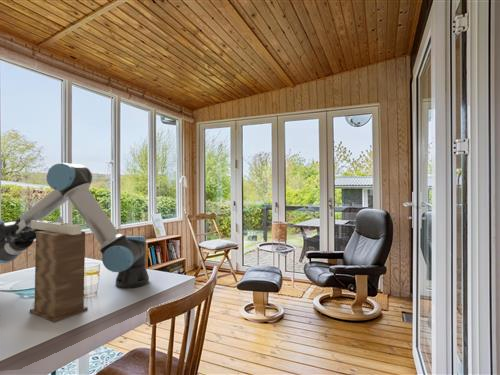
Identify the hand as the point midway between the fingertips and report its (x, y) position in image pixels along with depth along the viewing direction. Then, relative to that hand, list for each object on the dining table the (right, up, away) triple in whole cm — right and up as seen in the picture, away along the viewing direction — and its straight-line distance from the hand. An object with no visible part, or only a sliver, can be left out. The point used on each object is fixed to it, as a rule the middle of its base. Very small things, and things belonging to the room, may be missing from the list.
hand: (43, 221), depth 115 cm
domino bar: (+7, -3, -4) cm, 8 cm away
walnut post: (+10, -33, -5) cm, 35 cm away
